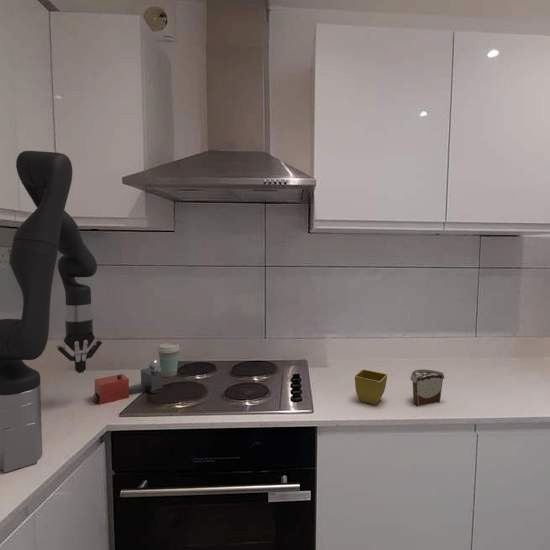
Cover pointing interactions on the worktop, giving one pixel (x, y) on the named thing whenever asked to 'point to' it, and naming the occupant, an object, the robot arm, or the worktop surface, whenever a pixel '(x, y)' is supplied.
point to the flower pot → (370, 386)
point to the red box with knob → (112, 388)
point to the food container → (426, 386)
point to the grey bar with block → (145, 380)
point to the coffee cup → (168, 358)
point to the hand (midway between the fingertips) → (80, 372)
